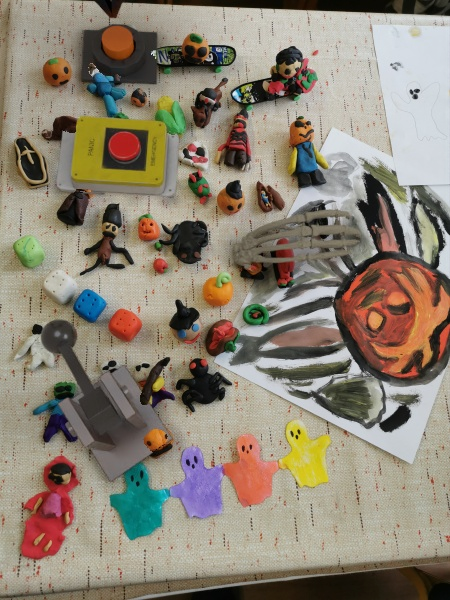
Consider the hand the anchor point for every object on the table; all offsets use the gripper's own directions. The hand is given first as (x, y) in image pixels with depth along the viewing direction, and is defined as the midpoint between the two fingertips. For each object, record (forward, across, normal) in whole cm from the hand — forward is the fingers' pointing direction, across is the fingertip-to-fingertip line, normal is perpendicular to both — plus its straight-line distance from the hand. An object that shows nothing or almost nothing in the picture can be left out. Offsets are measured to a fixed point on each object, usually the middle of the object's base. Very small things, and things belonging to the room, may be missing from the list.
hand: (113, 15), depth 69 cm
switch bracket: (+8, -1, +49) cm, 49 cm away
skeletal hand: (+8, -23, +27) cm, 37 cm away
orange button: (+6, 0, 0) cm, 6 cm away
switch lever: (-2, +1, +46) cm, 46 cm away
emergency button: (+8, 0, +16) cm, 18 cm away
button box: (+8, 0, 0) cm, 8 cm away
